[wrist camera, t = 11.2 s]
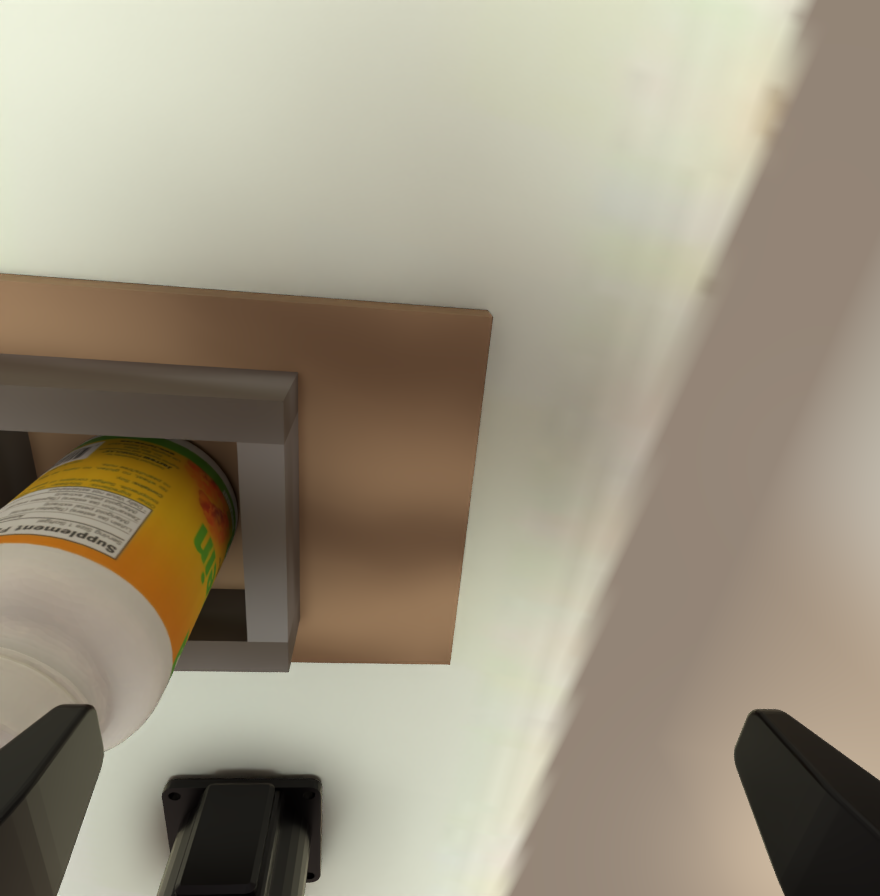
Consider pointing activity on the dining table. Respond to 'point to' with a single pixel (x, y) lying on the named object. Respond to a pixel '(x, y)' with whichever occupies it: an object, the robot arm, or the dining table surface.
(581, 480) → the dining table surface
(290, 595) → the can holder
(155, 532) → the supplement bottle
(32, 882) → the robot arm
